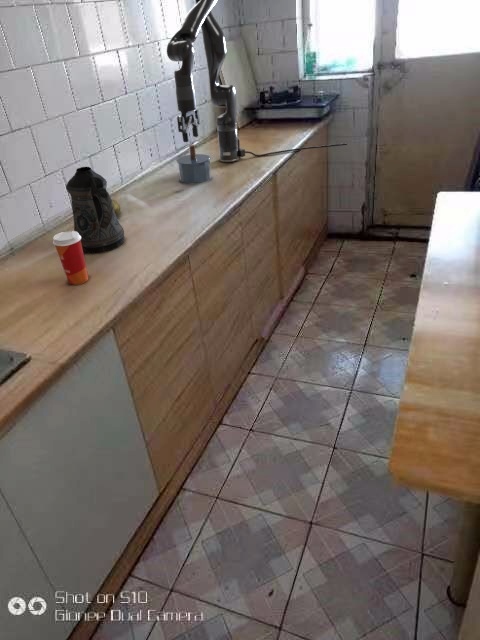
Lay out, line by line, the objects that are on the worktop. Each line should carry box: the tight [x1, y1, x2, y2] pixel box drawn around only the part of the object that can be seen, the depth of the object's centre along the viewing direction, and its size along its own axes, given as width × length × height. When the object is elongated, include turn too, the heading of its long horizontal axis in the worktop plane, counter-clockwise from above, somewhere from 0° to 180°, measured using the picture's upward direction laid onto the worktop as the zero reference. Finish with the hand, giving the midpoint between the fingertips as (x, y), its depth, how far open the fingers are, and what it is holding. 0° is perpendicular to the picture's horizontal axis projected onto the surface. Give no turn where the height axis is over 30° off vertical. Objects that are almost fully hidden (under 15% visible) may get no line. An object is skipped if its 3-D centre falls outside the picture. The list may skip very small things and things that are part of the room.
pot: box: [177, 159, 212, 184], centre depth 208 cm, size 14×14×8 cm
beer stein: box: [65, 166, 125, 255], centre depth 152 cm, size 16×19×25 cm
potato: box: [112, 199, 121, 216], centre depth 178 cm, size 8×13×8 cm, turn 161°
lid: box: [176, 144, 211, 165], centre depth 204 cm, size 15×15×7 cm
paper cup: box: [52, 230, 89, 286], centre depth 135 cm, size 8×8×14 cm
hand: (191, 139), depth 201 cm, fingers open, 8 cm apart
